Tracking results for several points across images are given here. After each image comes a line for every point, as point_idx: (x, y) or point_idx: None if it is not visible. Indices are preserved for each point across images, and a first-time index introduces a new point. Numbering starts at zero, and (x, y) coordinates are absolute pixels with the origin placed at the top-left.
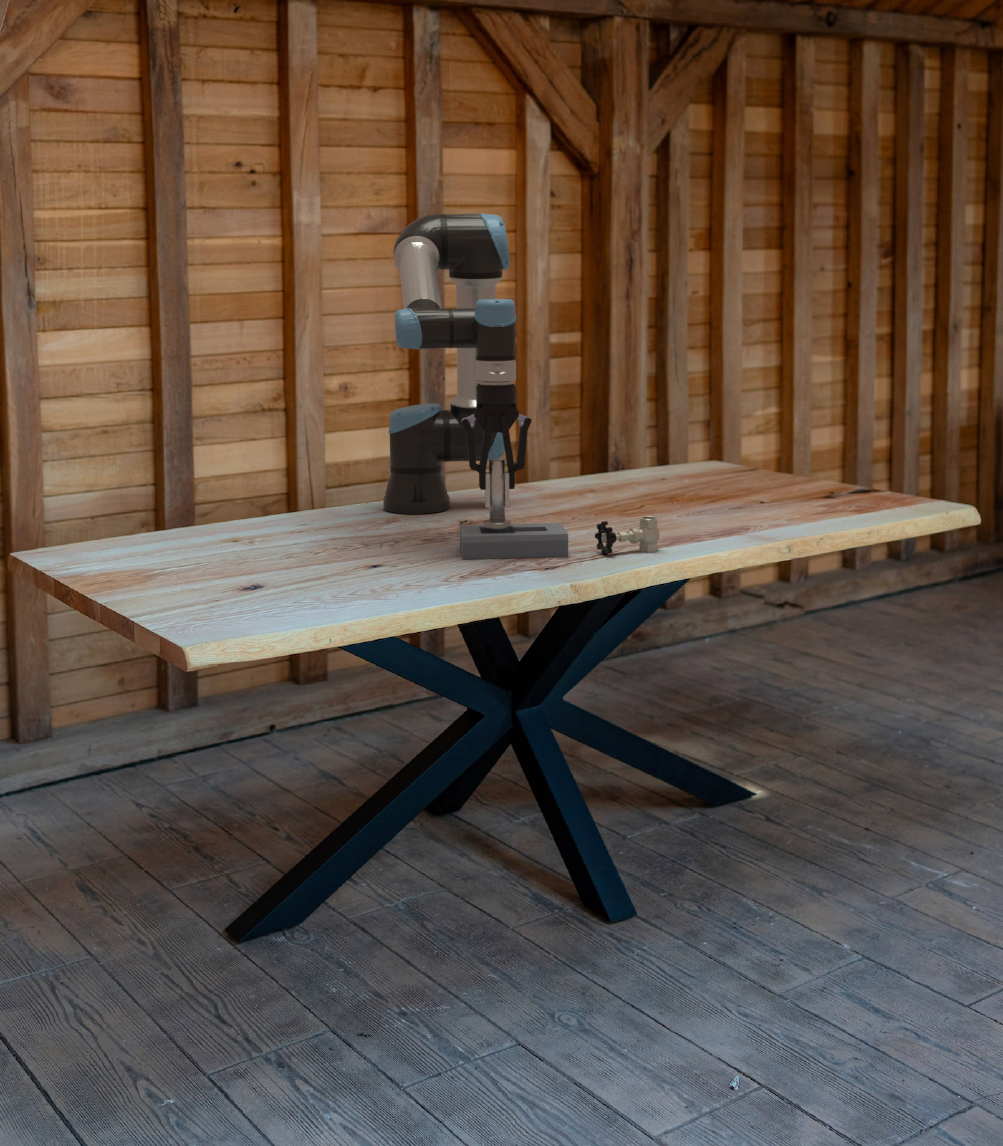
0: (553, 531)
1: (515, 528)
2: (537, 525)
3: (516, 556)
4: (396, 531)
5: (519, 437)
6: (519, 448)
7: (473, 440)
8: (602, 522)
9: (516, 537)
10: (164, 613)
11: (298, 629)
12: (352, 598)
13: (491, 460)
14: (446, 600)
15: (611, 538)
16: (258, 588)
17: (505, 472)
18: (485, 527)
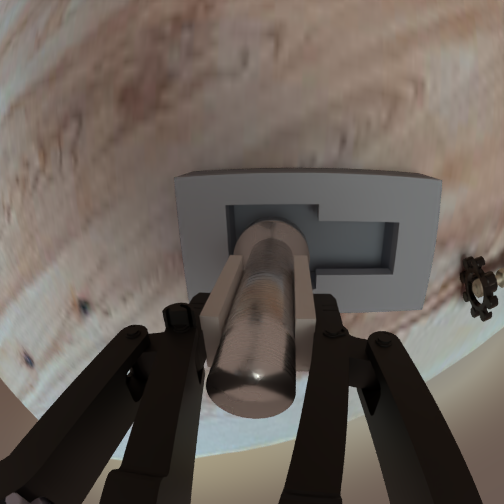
0: (402, 282)
1: (324, 219)
2: (384, 203)
3: None
4: (82, 30)
5: (413, 481)
6: (379, 456)
7: (99, 473)
8: (489, 307)
9: None
10: (27, 400)
11: (115, 458)
12: None
13: (221, 406)
14: (203, 448)
15: (479, 314)
16: (33, 364)
17: (299, 347)
18: None
